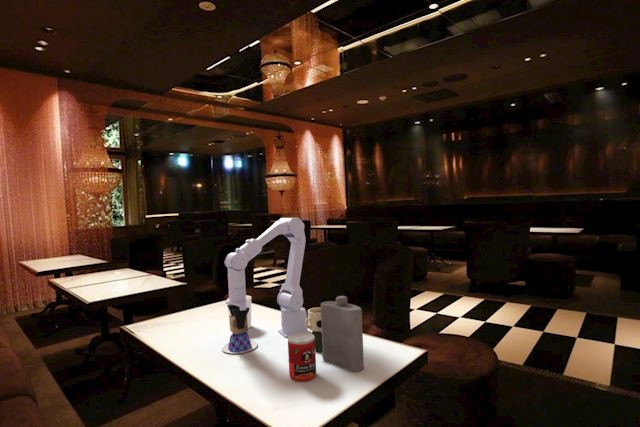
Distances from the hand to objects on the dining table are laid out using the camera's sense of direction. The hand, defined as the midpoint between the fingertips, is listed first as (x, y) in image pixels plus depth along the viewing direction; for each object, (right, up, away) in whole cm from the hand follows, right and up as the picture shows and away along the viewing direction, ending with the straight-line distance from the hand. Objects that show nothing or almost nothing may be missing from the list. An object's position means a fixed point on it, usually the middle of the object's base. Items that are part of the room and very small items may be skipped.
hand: (238, 326), depth 125 cm
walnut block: (0, -2, 0) cm, 2 cm away
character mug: (+28, -7, -4) cm, 29 cm away
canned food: (+23, -7, -23) cm, 33 cm away
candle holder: (-4, -8, +22) cm, 24 cm away
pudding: (0, -8, 0) cm, 8 cm away
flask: (+35, -6, -16) cm, 39 cm away
